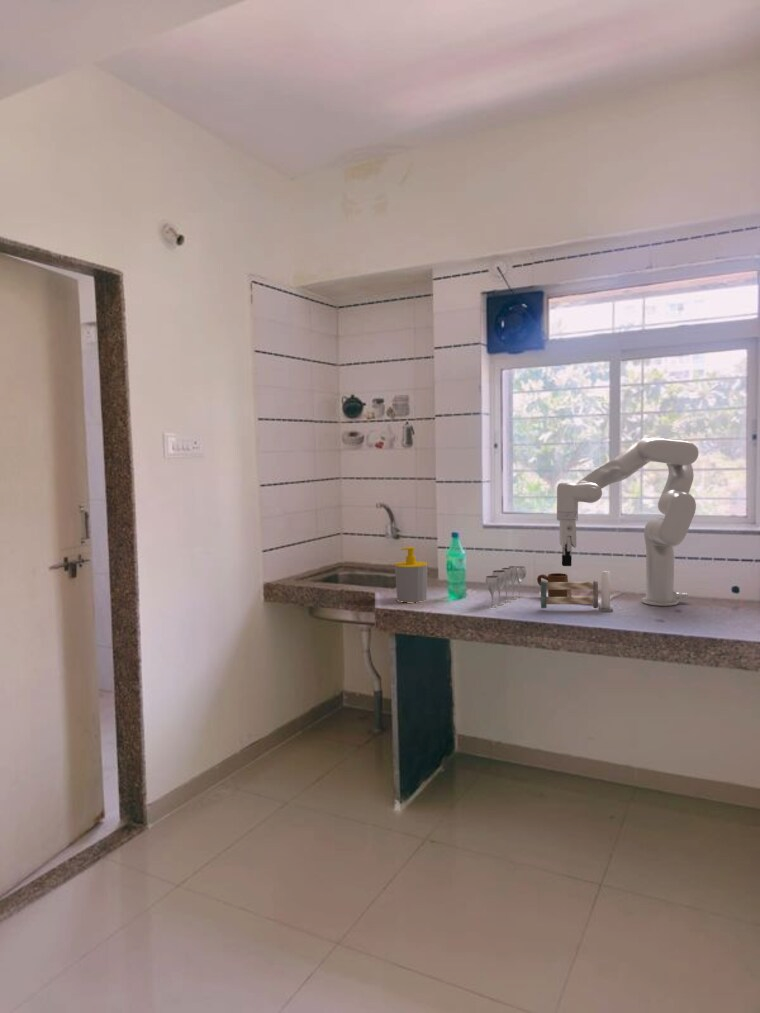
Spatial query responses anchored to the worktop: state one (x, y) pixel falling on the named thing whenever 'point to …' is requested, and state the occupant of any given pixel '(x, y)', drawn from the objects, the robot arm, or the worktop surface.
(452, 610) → the worktop surface
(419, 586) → the soap bottle
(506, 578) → the goblet set
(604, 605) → the gate post
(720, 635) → the worktop surface
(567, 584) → the gate
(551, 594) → the mug
